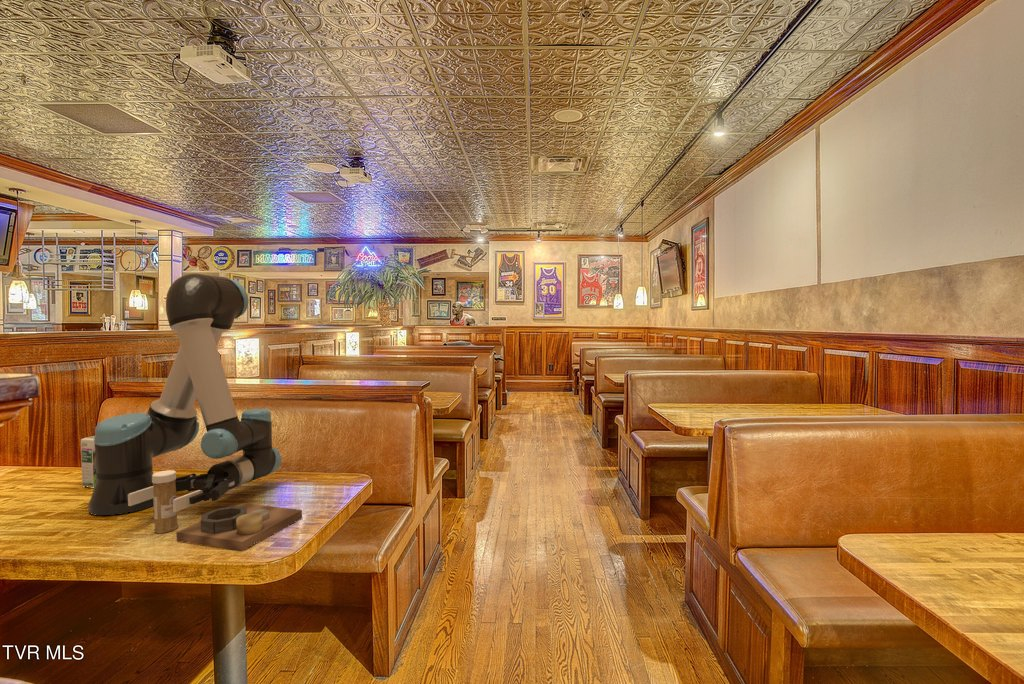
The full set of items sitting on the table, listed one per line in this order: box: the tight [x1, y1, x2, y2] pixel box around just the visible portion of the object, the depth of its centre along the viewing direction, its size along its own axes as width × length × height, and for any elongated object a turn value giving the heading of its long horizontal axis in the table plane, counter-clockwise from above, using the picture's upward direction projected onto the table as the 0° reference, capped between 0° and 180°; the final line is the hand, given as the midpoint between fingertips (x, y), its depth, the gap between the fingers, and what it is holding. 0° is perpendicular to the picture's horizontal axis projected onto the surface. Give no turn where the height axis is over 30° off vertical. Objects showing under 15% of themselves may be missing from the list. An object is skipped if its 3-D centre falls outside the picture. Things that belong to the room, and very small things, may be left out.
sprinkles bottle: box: [152, 469, 179, 534], centre depth 114 cm, size 5×5×14 cm
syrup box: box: [80, 435, 97, 487], centre depth 146 cm, size 6×6×14 cm
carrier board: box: [175, 502, 303, 552], centre depth 114 cm, size 18×18×5 cm
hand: (151, 502), depth 111 cm, fingers open, 13 cm apart
